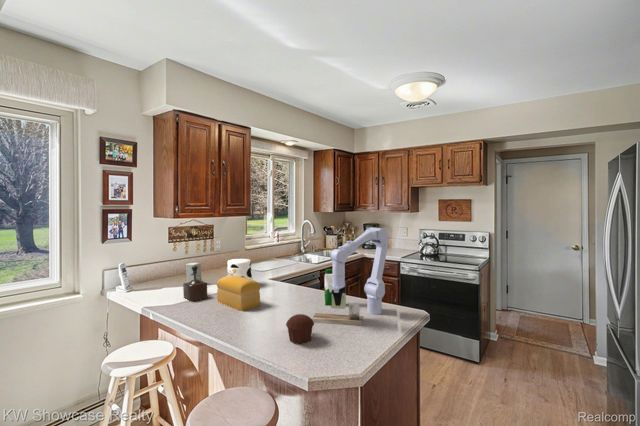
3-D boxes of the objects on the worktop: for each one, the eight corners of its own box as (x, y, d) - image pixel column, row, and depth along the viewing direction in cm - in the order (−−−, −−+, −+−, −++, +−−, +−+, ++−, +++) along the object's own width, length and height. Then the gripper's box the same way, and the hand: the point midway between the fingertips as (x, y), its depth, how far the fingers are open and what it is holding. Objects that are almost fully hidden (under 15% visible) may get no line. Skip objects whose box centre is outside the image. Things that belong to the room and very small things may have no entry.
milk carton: (326, 302, 181) (326, 267, 181) (342, 303, 180) (342, 268, 179) (323, 307, 173) (323, 270, 172) (340, 308, 171) (339, 271, 170)
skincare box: (202, 285, 220) (201, 262, 220) (193, 288, 214) (192, 264, 214) (194, 284, 225) (194, 261, 224) (185, 286, 219) (185, 263, 218)
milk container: (221, 289, 211) (220, 262, 211) (235, 283, 228) (235, 257, 227) (244, 291, 206) (243, 263, 206) (257, 284, 223) (256, 259, 222)
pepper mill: (209, 298, 192) (208, 268, 191) (191, 302, 183) (190, 271, 183) (196, 293, 202) (196, 264, 202) (179, 297, 194) (178, 267, 193)
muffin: (314, 333, 138) (314, 310, 138) (314, 345, 127) (314, 320, 127) (286, 334, 138) (286, 311, 137) (284, 345, 127) (284, 320, 126)
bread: (216, 302, 183) (216, 276, 183) (235, 297, 193) (235, 272, 193) (241, 311, 167) (240, 283, 167) (260, 305, 177) (260, 278, 176)
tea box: (333, 305, 153) (333, 292, 153) (345, 306, 152) (345, 293, 151) (331, 308, 148) (331, 295, 148) (344, 309, 147) (344, 296, 147)
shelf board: (315, 315, 161) (315, 309, 161) (363, 318, 156) (363, 312, 156) (309, 324, 149) (309, 317, 149) (361, 328, 144) (361, 321, 144)
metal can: (349, 317, 155) (349, 302, 154) (360, 317, 154) (360, 303, 153) (348, 320, 150) (348, 306, 150) (359, 321, 149) (359, 306, 148)
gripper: (332, 271, 157) (332, 298, 158) (327, 278, 143) (327, 308, 144) (347, 272, 156) (347, 299, 156) (343, 278, 142) (343, 309, 142)
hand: (338, 303), depth 150 cm, fingers closed on tea box, 4 cm apart
